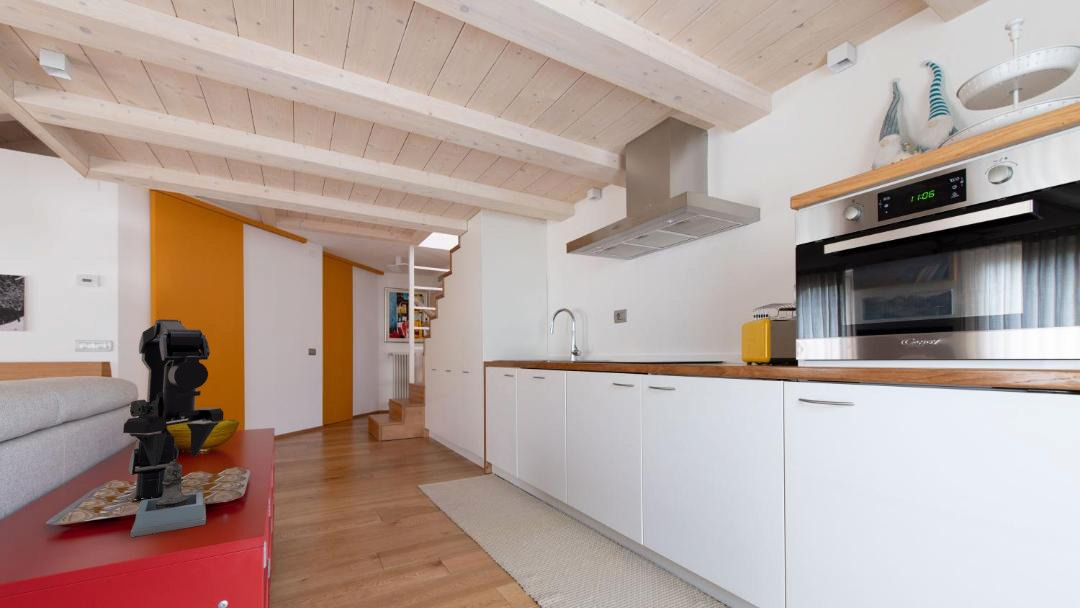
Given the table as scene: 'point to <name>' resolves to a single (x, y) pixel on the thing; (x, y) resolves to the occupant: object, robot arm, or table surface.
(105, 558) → the table surface
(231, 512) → the table surface
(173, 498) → the grey stone tall figure
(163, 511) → the holder
